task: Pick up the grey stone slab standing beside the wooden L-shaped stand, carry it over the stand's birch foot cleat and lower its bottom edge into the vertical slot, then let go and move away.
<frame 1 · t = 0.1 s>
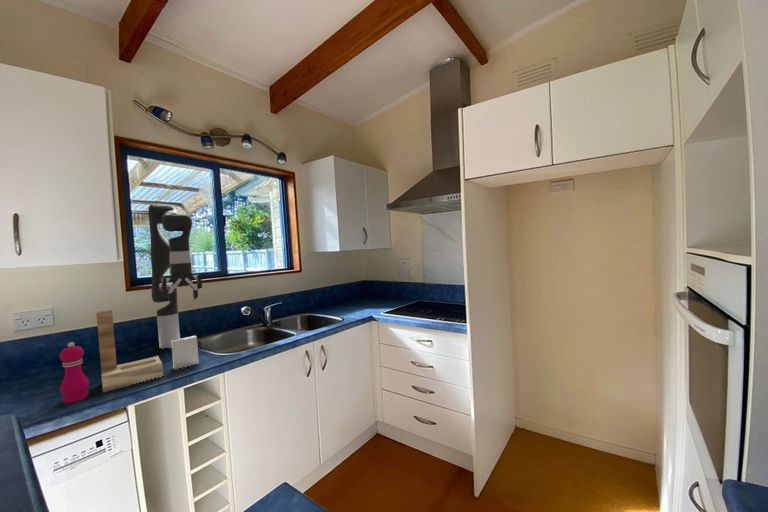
hand: (183, 300, 132), 29 cm above the worktop, tool pointing down, fingers open, 8 cm apart
pepper mill: (76, 399, 109), on the worktop
wooden l-shaped stand: (133, 379, 124), on the worktop
grey stone slab: (186, 366, 136), on the worktop
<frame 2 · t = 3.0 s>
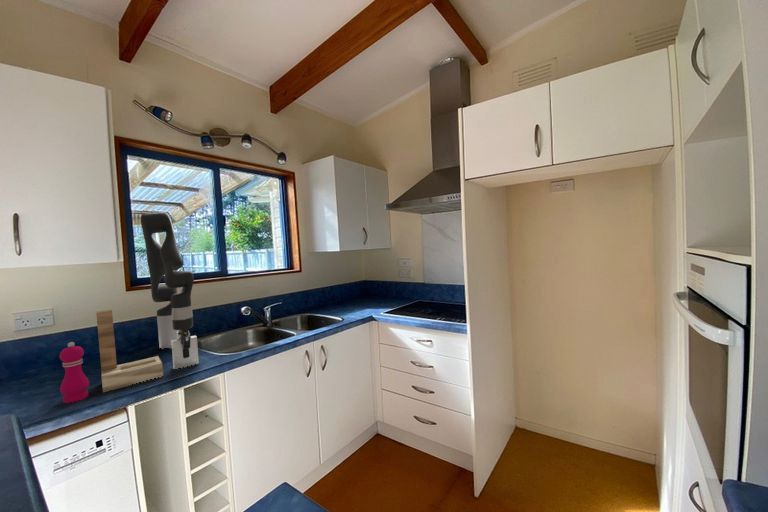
hand: (185, 356, 136), 4 cm above the worktop, tool pointing down, fingers closed on grey stone slab, 3 cm apart
grey stone slab: (186, 365, 136), on the worktop, touching gripper
everything else where it was.
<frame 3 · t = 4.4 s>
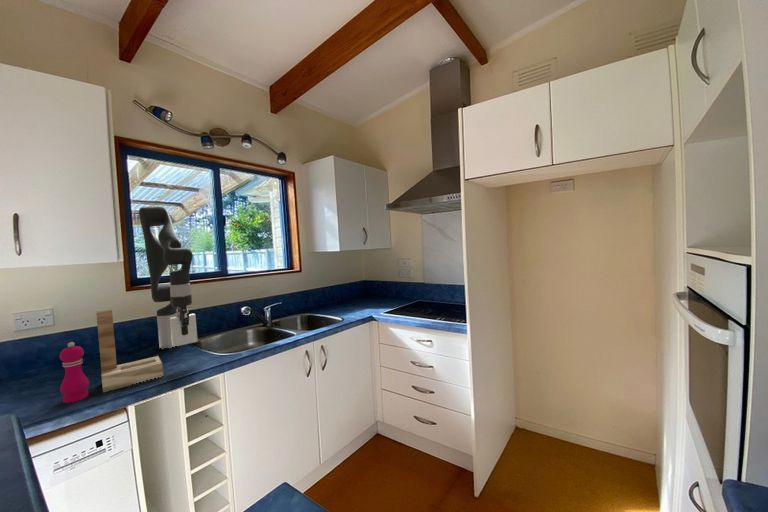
hand: (184, 333, 136), 14 cm above the worktop, tool pointing down, fingers closed on grey stone slab, 3 cm apart
grey stone slab: (184, 343, 136), point 10 cm above the worktop, touching gripper
everything else where it was.
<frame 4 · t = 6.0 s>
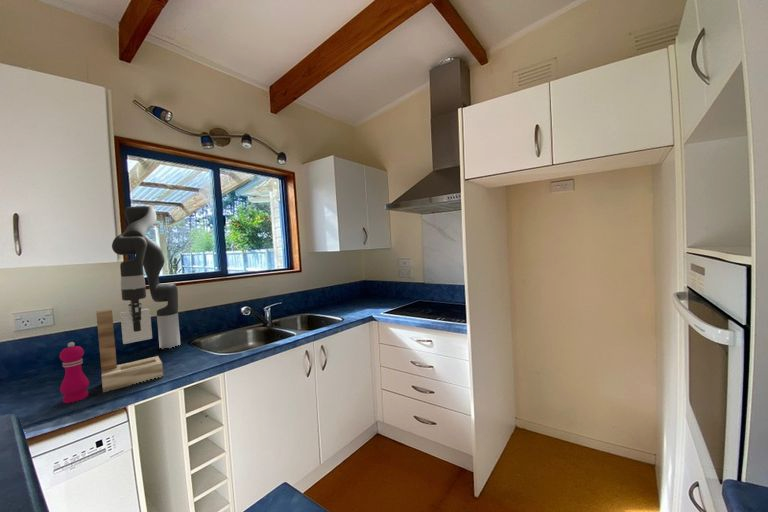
hand: (136, 330, 125), 19 cm above the worktop, tool pointing down, fingers closed on grey stone slab, 3 cm apart
grey stone slab: (137, 340, 125), point 15 cm above the worktop, touching gripper
everything else where it was.
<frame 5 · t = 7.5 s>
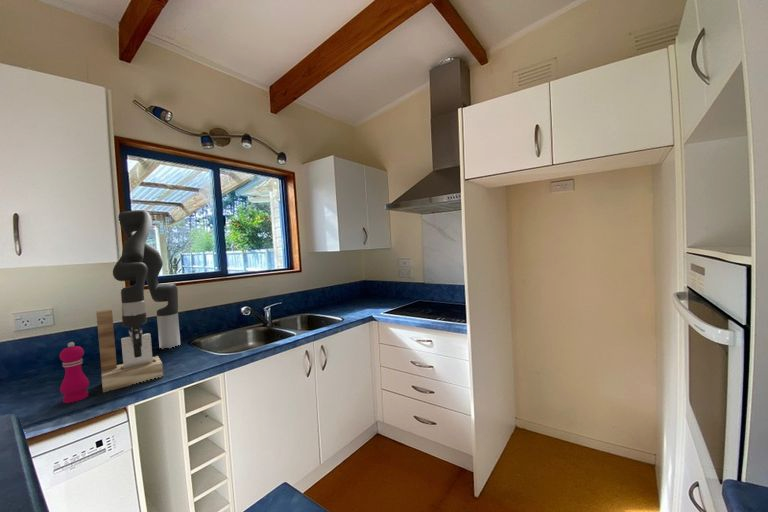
hand: (137, 355, 125), 9 cm above the worktop, tool pointing down, fingers closed on grey stone slab, 3 cm apart
grey stone slab: (138, 366, 125), point 5 cm above the worktop, touching gripper
everything else where it was.
when the fingers open (6 cm above the worktop, at t = 8.7 s): grey stone slab stays where it is, resting on wooden l-shaped stand.
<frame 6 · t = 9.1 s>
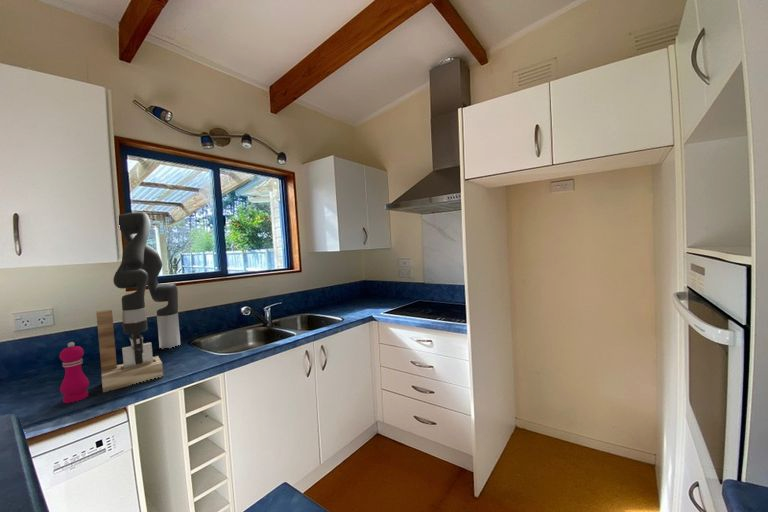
hand: (138, 361, 125), 7 cm above the worktop, tool pointing down, fingers open, 6 cm apart
grey stone slab: (139, 375, 125), point 1 cm above the worktop, touching wooden l-shaped stand
everything else where it was.
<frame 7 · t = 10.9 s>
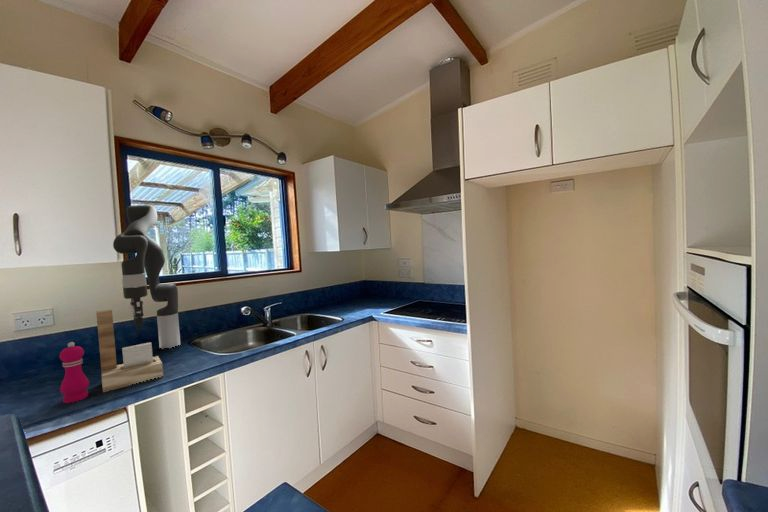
hand: (138, 325, 127), 21 cm above the worktop, tool pointing down, fingers open, 8 cm apart
nothing on the worktop moved.
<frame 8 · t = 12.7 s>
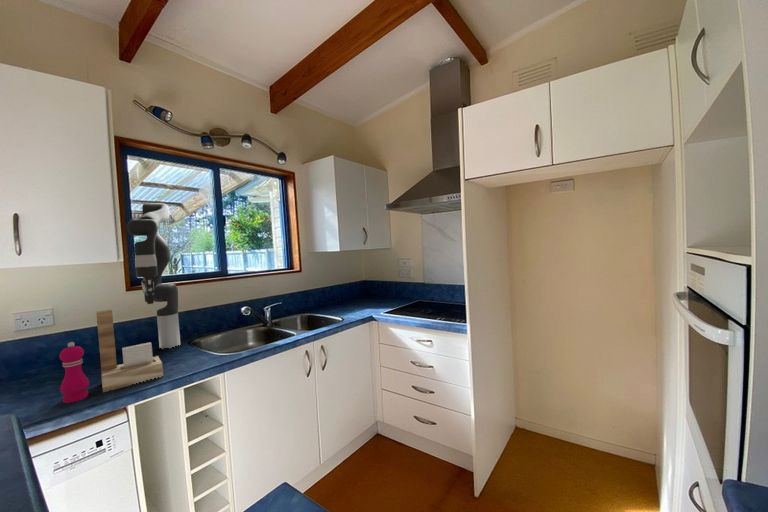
hand: (149, 302, 136), 28 cm above the worktop, tool pointing down, fingers open, 8 cm apart
nothing on the worktop moved.
at the end: grey stone slab 0.1 cm from the target spot on the wooden l-shaped stand, point 1.0 cm above the wooden l-shaped stand's base; grey stone slab tilted 0°; the gripper is holding nothing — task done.
